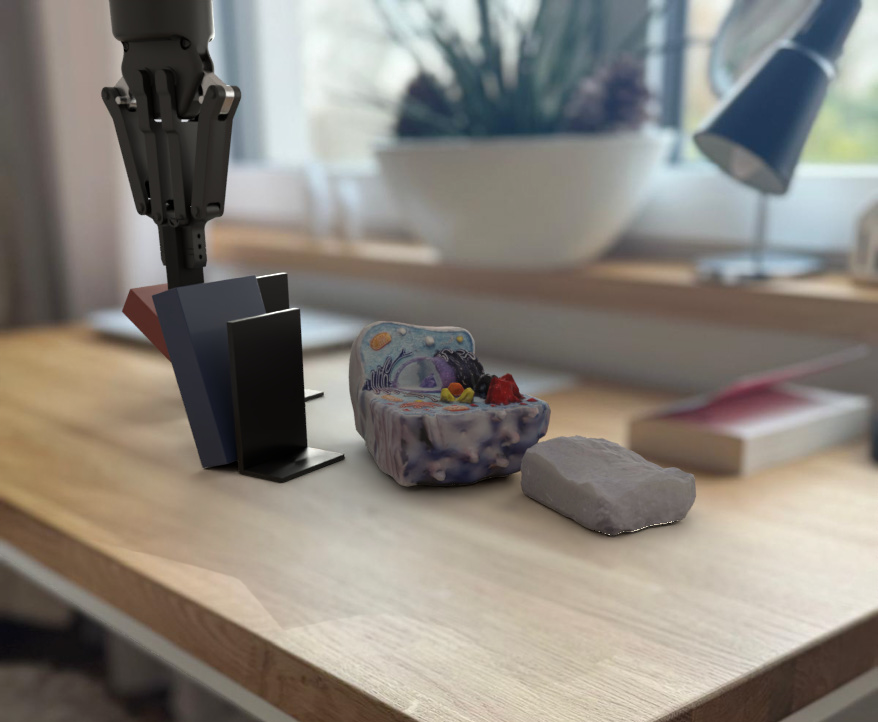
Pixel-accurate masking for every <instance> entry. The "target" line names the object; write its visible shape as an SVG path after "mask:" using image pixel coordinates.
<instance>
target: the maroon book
mask: <svg viewBox="0 0 878 722" xmlns="http://www.w3.org/2000/svg"><path fill="white" fill-rule="evenodd" d="M167 290H168V284H167V282H165V283H160V284H159V283H158V284H153V285H145V286H140V287H134V288H129V290H128V294H127V296H126V298H125V302H124V304H123V306H122V310H121V313H122V314H123V315H124V316H125V317H126V318H127V319H128V320H129V321H130V322H131V323H132V324H133V326H135V327H136V328H137V329H138V330H139V332H141V333H142V335H144V336H145V338H146V339H148V340H149V342H150V343H151V344H152V345H153V346H154V347H155V348H156V349H157V350H158V351H159V352H160V353H161V354H162V355H163V356H164V357H165V359H167V360H168V362H170V363H171V360H170V357H169V353H168V350H167V347H166V343H165V340H164V336H163V333H162V330H161V326H160V323H159V320H158V316H157V313H156V309H155V306H154V303H153V299H152V295H154V294H158V293H161V292H164V291H167Z"/></svg>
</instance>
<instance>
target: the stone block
mask: <svg viewBox="0 0 878 722" xmlns="http://www.w3.org/2000/svg"><path fill="white" fill-rule="evenodd" d="M521 461H522V463H521V471H520V473H521V476H520V489H521V491H522V493H524V495H526V496H527V497H529V498H531V499H533V500H534V501H536V502H538V503H540V504H542V505H544V506H545V507H547V508H549V509H550V510H554V511H555V512H557V513H558V514H560V515H562V516H563V517H566V518H569V519H572V520H573V521H575V522H576V523H578V524H579V525H580V526H582V527H583V528H586V529H589V530H590V531H594V530H595V531H594V532H597V531H600V532H602V533H601V534H603V533H606V534H610V535H616V534H618V533H620V532H623V531H634V530H637V529H641V528H643V527H646V526H650V525H654V524H660V523H667V522H668V523H669V522H671V521H672V522H673V521H677V520H679V521H682V520H683V519H685V518H686V516H687V515H688V513H689V512H690V510H691V509H692V507H693V506H694V503H695V501H696V498H697V487H696V478H695V475H694V474H692V473H690V472H686V471H683V470H681V469H680V468H678V467H675V466H673V467H666V468H665V467H664V468H663V467H661V466H660V465H658V464H656V463H653V462H651V461H649V460H646V459H645V458H644V457H643V456H642V455H640V454H638V453H637V452H635V451H633V450H631V449H627V447H624V446H622V445H620V444H619V443H617V442H613V441H611V440H608V439H606V438H603V437H602V438H599V437H598V438H596V437H587V436H582V435H577V434H576V435H574V436H564V435H562V436H556V437H553V438H550V439H547V440H544V441H538V443H536V444H535V445H534V446H532V447H531V448H528V449H527V450H526V452H525V454H524V457H523V458H522V460H521ZM677 522H678V521H677ZM600 532H599V533H600ZM618 535H619V534H618ZM616 536H617V535H616Z"/></svg>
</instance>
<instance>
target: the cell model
mask: <svg viewBox="0 0 878 722" xmlns="http://www.w3.org/2000/svg"><path fill="white" fill-rule="evenodd" d="M475 353H476V341H475V339H474V336H473V335H472V334H471V333H470V331H469V330H467V329H466V328H463V327H458V326H453V325H452V326H450V325H445V326H427V325H426V326H425V325H424V326H423V325H415V324H411V323H405V322H399V321H390V320H389V321H388V320H379V321H374V322H372V323H370V324H368V325H366V326H364V327H363V328H362V329H361V330H360V332H359V333H358V334H357V336H356V337H355V338H354V340H353V341H352V345H351V348H350V353H349V354H350V355H349V360H348V361H349V362H348V391H349V397H350V402H351V407H352V411H353V418H354V419H353V421H354V426H355V430H356V432H357V433H358V435H359V436H361V438H362V439H363V440H364V446H365V447H366V449H367V450H368V451H369V453H370V454H371V455H372V458H373V461H374V463H375V464H376V465H377V468H378V469H379V470H380V471H381V472H382V473H383V474H386V475H389V476H390V477H391V478H393V480H395V482H396V483H397V484H398V485H400V486H403V487H407V488H408V487H409V488H410V487H412V486H432V487H452V486H457V487H459V486H468V485H469V486H470V485H473V484H476V483H479V482H481V481H483V480H487V479H493V478H503V477H508V476H512V475H514V474H517V473H519V472H521V463H522V461H521V460H522V458H523V457H524V454H525V452H526V450H527V449H528V448H531V447H532V446H534V445H535V444H536V443H539V442H540V439H543V438H544V437H545V436H547V432H548V429H549V425H550V419H551V413H552V410H551V406H550V404H549V403H548V402H547V401H545V400H543V399H540V398H538V397H535V396H532V395H530V394H527V393H523V392H522V393H521V391H520V388H519V386H518V384H517V383H516V381H515V378H514V377H513V374H511V373H508V372H506V373H505V374H503V375H501V376H500V377H499V376H498V375H496V374H490V373H485V369H484V366H483V364H482V363H481V361H480V360H479V358H478V357H477V356H476V354H475Z"/></svg>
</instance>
